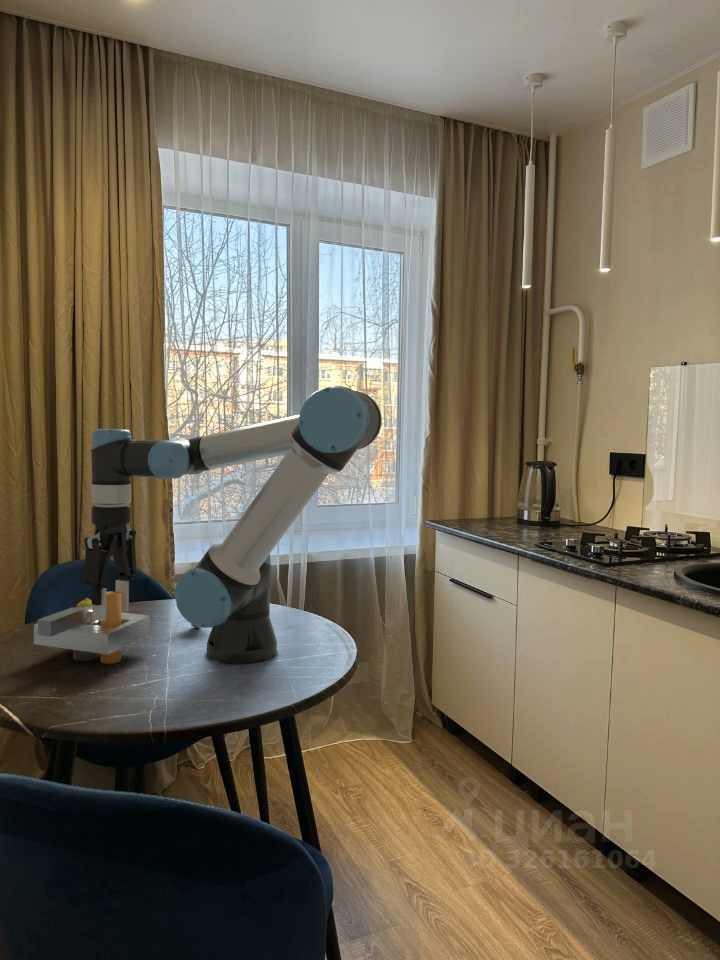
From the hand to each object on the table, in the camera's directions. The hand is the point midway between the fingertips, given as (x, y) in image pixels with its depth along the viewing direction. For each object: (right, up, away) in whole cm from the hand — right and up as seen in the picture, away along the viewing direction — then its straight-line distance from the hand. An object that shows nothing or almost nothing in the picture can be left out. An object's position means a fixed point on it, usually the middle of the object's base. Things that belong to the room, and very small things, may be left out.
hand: (111, 615), depth 136 cm
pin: (0, -9, +1) cm, 9 cm away
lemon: (-13, -8, +19) cm, 24 cm away
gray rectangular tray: (-5, -9, -1) cm, 11 cm away
